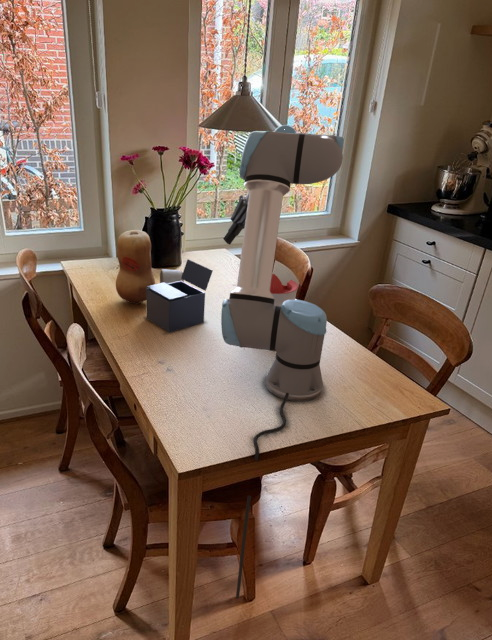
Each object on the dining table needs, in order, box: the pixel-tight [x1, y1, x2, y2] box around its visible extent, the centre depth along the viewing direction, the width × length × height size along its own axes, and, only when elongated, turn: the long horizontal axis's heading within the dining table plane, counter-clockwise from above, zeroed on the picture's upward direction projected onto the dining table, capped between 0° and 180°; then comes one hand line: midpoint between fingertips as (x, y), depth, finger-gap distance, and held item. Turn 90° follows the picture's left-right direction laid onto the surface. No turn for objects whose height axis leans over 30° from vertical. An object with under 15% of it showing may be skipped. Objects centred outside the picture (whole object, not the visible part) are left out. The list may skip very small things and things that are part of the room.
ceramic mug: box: [159, 268, 185, 284], centre depth 200 cm, size 11×8×8 cm
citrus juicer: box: [270, 273, 299, 306], centre depth 168 cm, size 16×17×20 cm
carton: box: [145, 281, 206, 334], centre depth 174 cm, size 14×13×11 cm
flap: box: [181, 258, 213, 292], centre depth 174 cm, size 7×13×1 cm
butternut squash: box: [115, 229, 156, 305], centre depth 182 cm, size 14×13×25 cm
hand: (226, 241), depth 177 cm, fingers closed
